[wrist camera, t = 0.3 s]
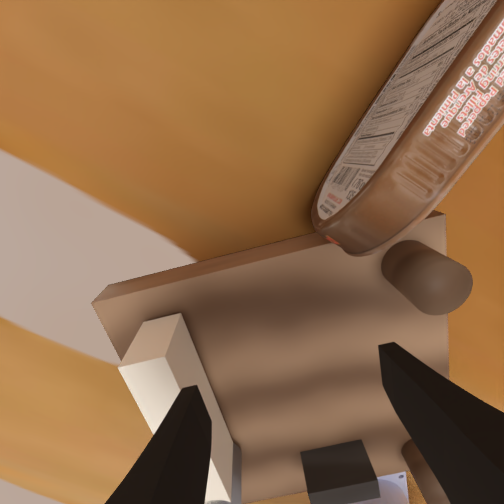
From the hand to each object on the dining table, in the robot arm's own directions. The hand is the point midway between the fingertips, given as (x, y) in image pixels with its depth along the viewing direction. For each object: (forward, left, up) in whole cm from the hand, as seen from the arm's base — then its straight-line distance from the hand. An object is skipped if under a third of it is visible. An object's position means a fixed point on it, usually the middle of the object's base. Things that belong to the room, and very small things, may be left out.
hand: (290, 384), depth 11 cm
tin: (+9, -9, -10) cm, 16 cm away
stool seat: (-9, 0, -10) cm, 13 cm away
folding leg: (-7, +7, -7) cm, 12 cm away
